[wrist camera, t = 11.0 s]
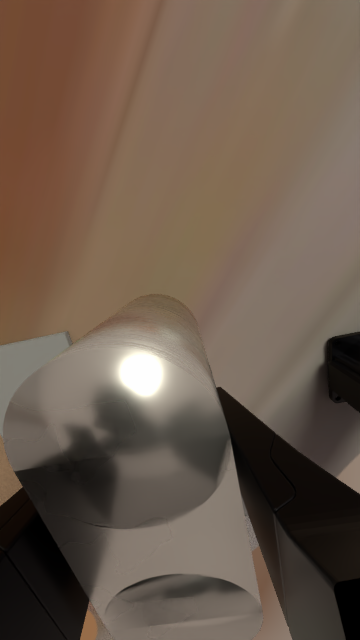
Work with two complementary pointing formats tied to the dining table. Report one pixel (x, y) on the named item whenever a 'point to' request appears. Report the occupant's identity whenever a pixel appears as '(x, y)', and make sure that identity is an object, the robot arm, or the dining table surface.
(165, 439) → the chain link
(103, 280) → the dining table surface
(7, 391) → the pad
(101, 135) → the dining table surface
